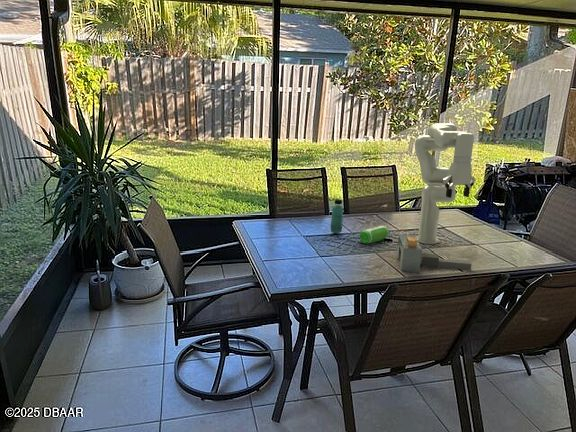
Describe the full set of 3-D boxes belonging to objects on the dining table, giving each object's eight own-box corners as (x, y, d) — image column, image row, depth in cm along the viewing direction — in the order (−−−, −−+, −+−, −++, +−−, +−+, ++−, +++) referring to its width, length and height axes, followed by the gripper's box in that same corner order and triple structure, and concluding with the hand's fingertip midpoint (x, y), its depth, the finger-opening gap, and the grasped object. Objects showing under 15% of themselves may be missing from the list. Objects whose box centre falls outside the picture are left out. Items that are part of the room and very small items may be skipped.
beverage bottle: (328, 232, 242) (330, 198, 236) (338, 231, 244) (340, 198, 239) (333, 236, 236) (335, 201, 231) (343, 235, 238) (346, 200, 233)
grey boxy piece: (396, 255, 211) (399, 228, 207) (412, 256, 210) (416, 229, 206) (401, 270, 191) (404, 241, 188) (419, 272, 190) (422, 243, 187)
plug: (416, 262, 202) (417, 252, 201) (468, 266, 199) (470, 256, 198) (417, 266, 198) (419, 256, 196) (471, 270, 195) (472, 260, 193)
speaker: (368, 245, 223) (370, 232, 221) (358, 242, 228) (359, 228, 226) (389, 239, 234) (390, 226, 232) (378, 236, 239) (379, 223, 237)
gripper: (472, 159, 199) (467, 194, 203) (440, 159, 194) (436, 195, 198) (483, 161, 192) (478, 198, 196) (451, 161, 187) (446, 199, 191)
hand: (457, 196), depth 197 cm, fingers open, 9 cm apart
